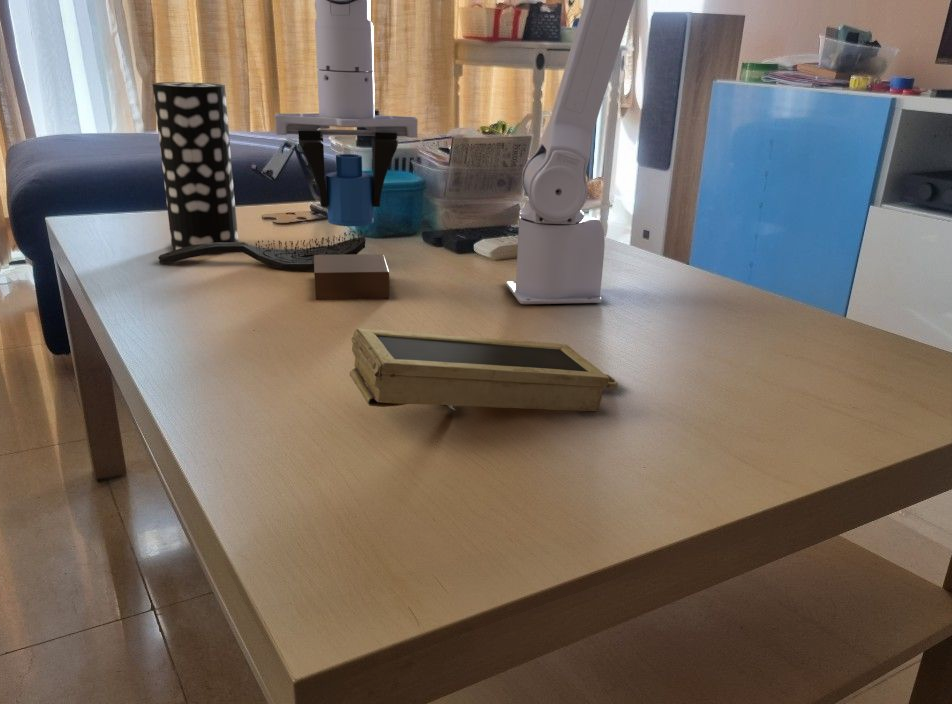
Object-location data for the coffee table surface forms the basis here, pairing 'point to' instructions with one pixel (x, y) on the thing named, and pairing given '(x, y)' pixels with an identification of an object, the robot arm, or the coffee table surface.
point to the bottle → (349, 193)
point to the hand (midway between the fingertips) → (349, 205)
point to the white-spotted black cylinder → (196, 162)
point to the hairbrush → (271, 252)
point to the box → (473, 372)
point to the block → (351, 276)
